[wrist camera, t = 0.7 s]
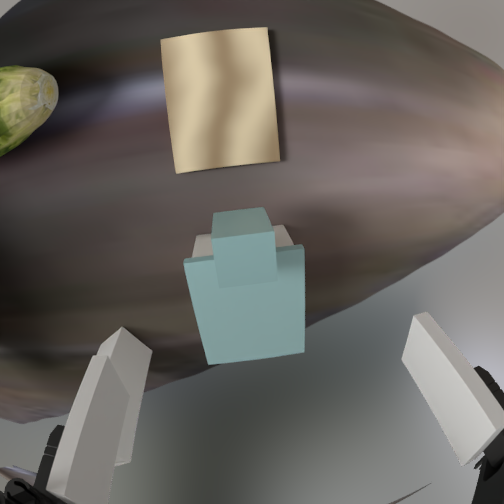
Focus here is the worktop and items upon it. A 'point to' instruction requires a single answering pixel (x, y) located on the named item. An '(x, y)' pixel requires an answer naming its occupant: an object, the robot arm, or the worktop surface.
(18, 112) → the lettuce
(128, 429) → the milk
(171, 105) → the board
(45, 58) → the worktop surface
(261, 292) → the lid
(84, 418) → the robot arm
